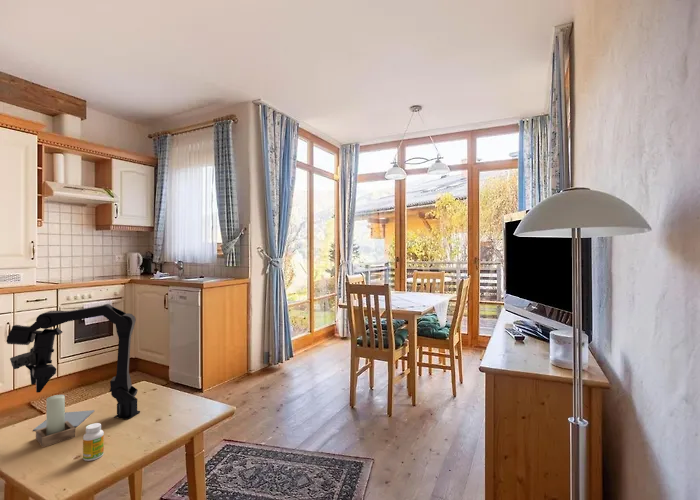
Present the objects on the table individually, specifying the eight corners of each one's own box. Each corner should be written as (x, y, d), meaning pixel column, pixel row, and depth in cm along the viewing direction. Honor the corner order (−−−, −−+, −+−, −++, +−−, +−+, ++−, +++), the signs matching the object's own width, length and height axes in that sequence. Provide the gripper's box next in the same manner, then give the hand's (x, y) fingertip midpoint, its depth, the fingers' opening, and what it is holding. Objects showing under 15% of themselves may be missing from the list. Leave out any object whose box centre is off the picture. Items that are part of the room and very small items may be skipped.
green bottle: (68, 434, 132) (68, 395, 132) (54, 442, 127) (54, 400, 127) (56, 433, 133) (56, 394, 133) (42, 440, 128) (42, 399, 128)
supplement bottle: (93, 462, 115) (93, 430, 115) (78, 460, 116) (78, 428, 116) (107, 453, 120) (107, 422, 120) (93, 451, 121) (93, 421, 121)
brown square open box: (67, 429, 136) (67, 420, 136) (75, 436, 130) (75, 428, 130) (35, 438, 129) (35, 430, 129) (42, 447, 123) (42, 438, 123)
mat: (94, 411, 151) (94, 410, 151) (76, 426, 138) (76, 425, 138) (55, 414, 149) (55, 413, 149) (33, 430, 135) (33, 429, 135)
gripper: (10, 341, 138) (2, 383, 137) (19, 353, 126) (10, 400, 125) (48, 339, 147) (40, 379, 146) (60, 351, 134) (52, 395, 134)
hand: (35, 388), depth 137 cm, fingers open, 9 cm apart
